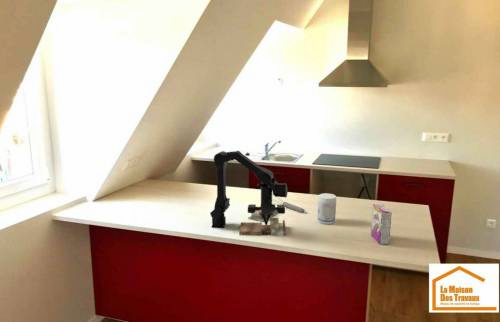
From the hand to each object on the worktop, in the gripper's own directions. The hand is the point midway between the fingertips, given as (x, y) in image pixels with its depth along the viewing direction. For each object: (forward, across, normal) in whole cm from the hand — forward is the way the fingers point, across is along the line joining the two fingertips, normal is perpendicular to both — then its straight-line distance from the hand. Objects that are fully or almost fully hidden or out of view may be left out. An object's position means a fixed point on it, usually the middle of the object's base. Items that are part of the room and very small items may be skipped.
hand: (266, 224), depth 190 cm
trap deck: (+3, -2, 0) cm, 4 cm away
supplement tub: (+3, +33, +14) cm, 36 cm away
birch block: (+1, +4, 0) cm, 4 cm away
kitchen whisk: (+4, +10, +38) cm, 39 cm away
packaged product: (+4, -2, +22) cm, 22 cm away
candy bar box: (+3, +55, -9) cm, 55 cm away
